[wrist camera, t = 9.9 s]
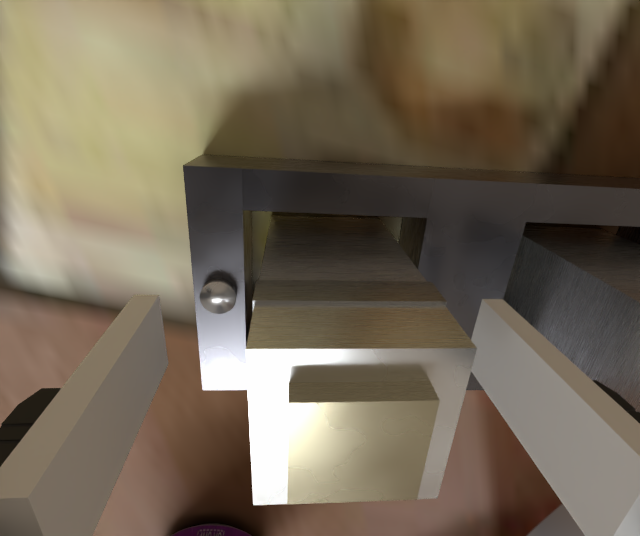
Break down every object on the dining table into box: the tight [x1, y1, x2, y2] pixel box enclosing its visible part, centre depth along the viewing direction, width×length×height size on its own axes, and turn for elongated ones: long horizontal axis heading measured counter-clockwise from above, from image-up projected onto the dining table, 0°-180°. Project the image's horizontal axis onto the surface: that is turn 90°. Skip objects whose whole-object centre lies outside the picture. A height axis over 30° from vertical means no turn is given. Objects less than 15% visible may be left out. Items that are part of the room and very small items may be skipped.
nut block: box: [246, 216, 477, 505], centre depth 13 cm, size 5×5×11 cm
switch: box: [183, 154, 640, 412], centre depth 14 cm, size 22×10×11 cm, turn 86°
